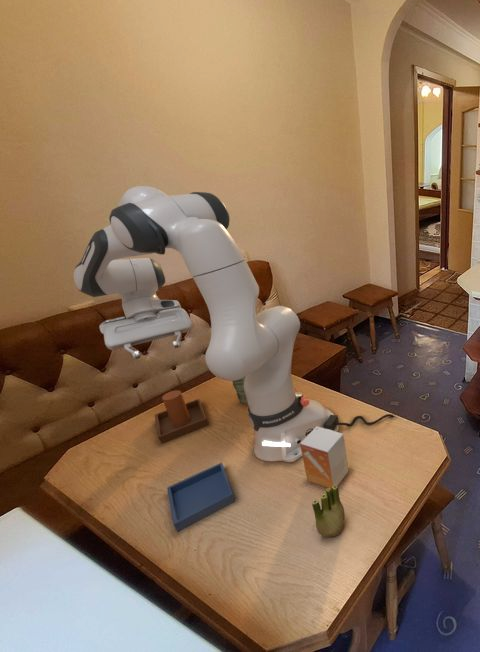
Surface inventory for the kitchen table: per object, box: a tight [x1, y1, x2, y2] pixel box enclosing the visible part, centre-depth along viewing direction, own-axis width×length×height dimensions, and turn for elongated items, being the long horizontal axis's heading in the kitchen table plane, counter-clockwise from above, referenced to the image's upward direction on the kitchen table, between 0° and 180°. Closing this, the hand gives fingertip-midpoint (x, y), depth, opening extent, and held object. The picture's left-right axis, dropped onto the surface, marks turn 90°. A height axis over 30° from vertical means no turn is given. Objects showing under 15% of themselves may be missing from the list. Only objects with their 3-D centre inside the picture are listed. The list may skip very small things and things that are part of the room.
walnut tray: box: [154, 398, 209, 445], centre depth 107 cm, size 11×12×2 cm
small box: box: [300, 427, 350, 489], centre depth 89 cm, size 8×6×13 cm
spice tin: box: [161, 389, 191, 427], centre depth 105 cm, size 4×4×10 cm
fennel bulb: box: [311, 484, 346, 538], centre depth 77 cm, size 6×5×12 cm
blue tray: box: [166, 461, 236, 533], centre depth 85 cm, size 11×12×2 cm
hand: (158, 352), depth 106 cm, fingers open, 8 cm apart
